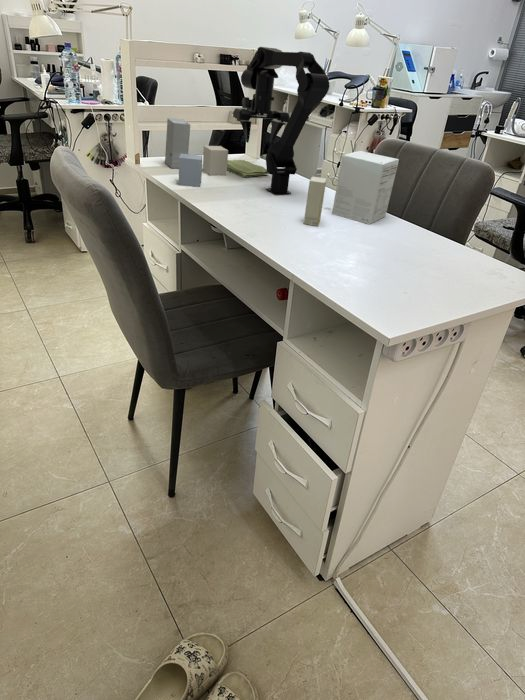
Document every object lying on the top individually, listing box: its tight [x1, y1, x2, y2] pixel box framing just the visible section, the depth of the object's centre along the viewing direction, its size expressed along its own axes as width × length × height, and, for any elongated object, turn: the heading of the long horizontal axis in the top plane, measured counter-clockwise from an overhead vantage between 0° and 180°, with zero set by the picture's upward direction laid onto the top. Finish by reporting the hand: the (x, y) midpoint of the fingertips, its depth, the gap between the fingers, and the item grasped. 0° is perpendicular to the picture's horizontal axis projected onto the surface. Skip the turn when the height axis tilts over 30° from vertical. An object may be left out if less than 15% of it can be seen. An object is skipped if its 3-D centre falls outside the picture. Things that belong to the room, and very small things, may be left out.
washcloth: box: [227, 159, 269, 178], centre depth 187 cm, size 13×18×3 cm
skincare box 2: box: [303, 176, 327, 227], centre depth 140 cm, size 6×4×12 cm
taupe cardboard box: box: [202, 145, 229, 176], centre depth 179 cm, size 7×7×9 cm
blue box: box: [178, 153, 203, 188], centre depth 162 cm, size 7×7×9 cm
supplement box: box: [331, 150, 400, 225], centre depth 150 cm, size 13×13×18 cm
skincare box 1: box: [164, 117, 191, 169], centre depth 179 cm, size 8×7×16 cm
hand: (259, 142), depth 170 cm, fingers open, 9 cm apart
